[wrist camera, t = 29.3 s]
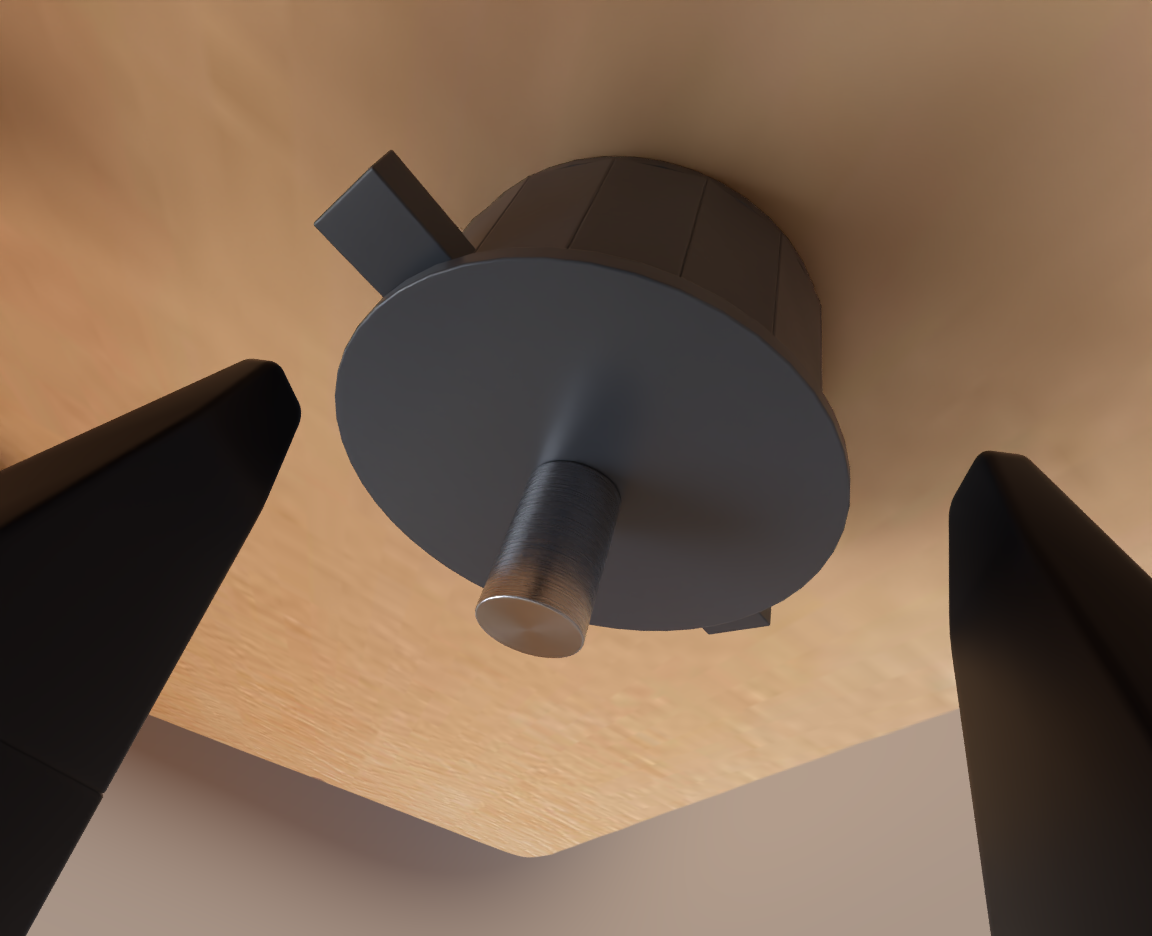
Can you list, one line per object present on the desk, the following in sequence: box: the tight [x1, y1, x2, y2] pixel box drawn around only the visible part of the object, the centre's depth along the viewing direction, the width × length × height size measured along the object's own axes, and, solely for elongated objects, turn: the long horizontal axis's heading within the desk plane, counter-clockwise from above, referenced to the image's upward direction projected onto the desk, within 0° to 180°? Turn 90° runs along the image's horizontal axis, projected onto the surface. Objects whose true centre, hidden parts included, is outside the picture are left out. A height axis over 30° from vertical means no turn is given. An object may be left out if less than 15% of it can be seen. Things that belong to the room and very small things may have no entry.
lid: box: [335, 247, 850, 658], centre depth 16 cm, size 14×14×5 cm
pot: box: [314, 150, 823, 634], centre depth 20 cm, size 13×18×6 cm
